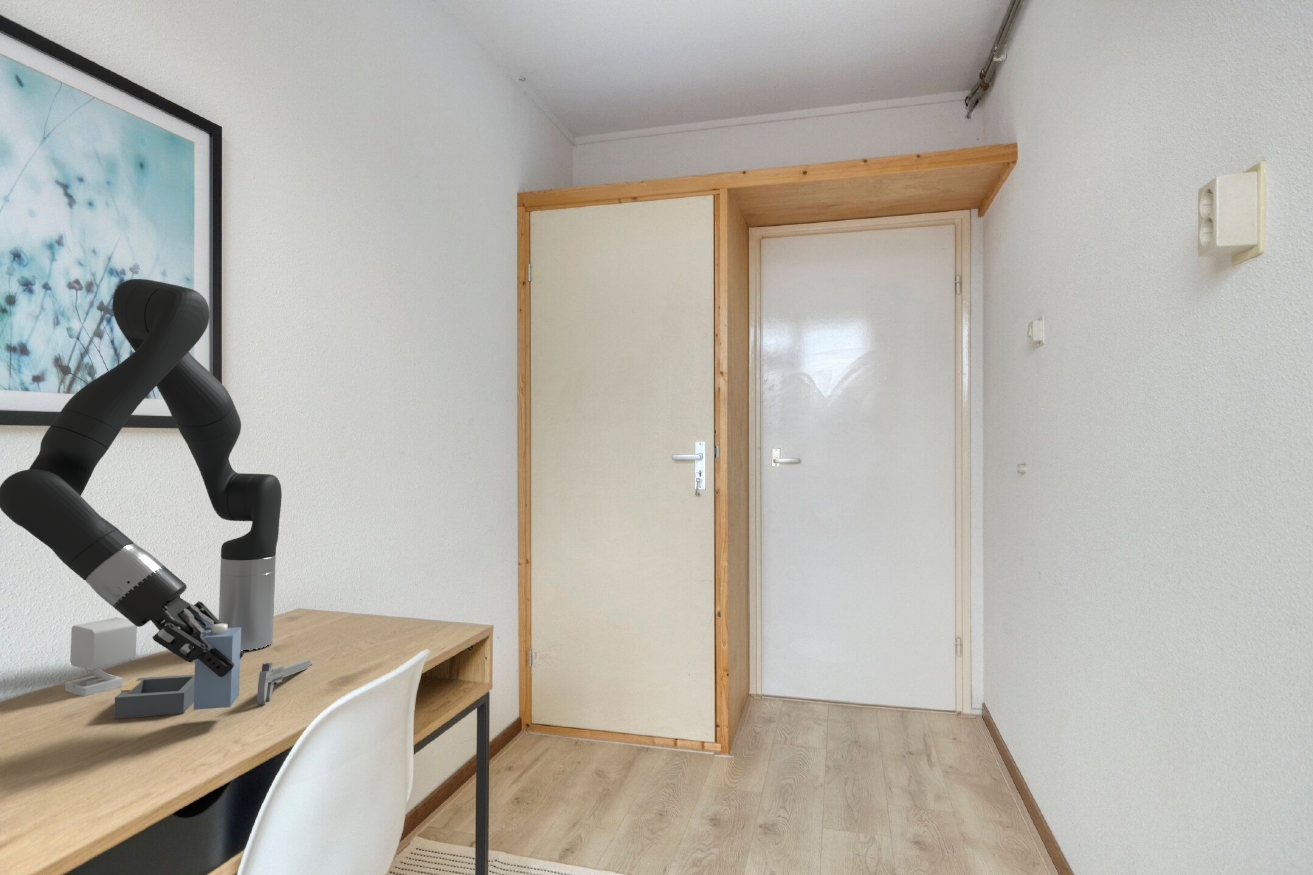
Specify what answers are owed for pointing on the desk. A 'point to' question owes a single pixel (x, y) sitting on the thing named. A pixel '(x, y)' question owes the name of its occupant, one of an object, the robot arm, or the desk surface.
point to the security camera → (100, 653)
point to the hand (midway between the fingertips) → (233, 665)
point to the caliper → (276, 678)
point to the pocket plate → (155, 696)
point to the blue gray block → (207, 683)
